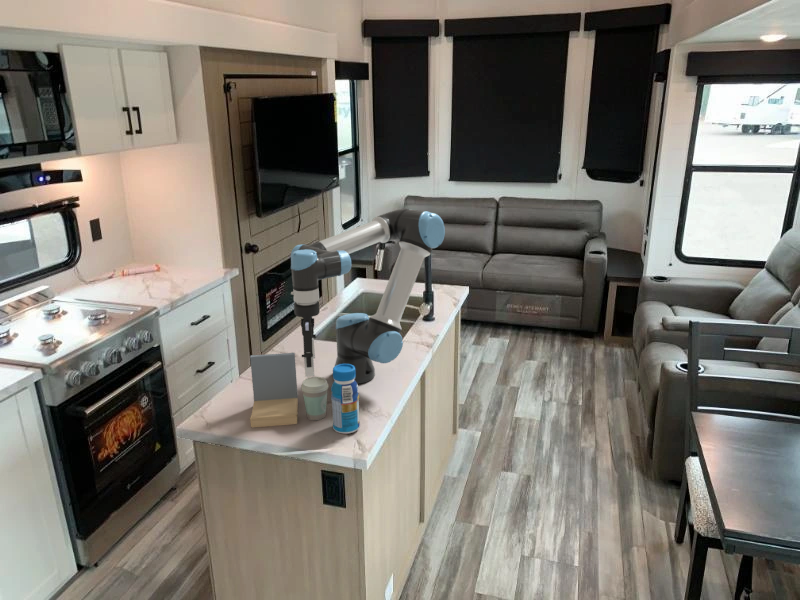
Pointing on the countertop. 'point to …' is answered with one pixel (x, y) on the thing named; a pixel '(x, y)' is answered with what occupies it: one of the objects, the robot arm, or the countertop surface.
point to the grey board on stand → (274, 390)
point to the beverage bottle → (345, 399)
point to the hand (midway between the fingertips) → (310, 366)
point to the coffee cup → (315, 397)
